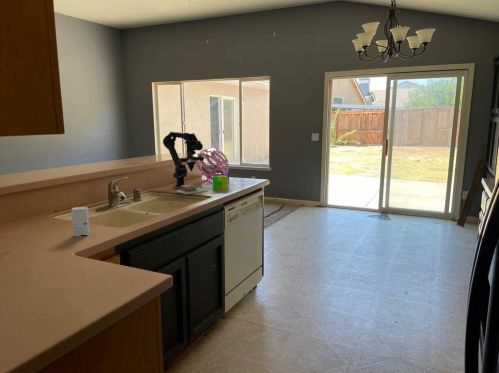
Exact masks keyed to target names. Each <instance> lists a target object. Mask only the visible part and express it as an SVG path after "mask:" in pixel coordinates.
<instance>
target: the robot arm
mask: <svg viewBox="0 0 499 373" xmlns="http://www.w3.org/2000/svg"><path fill="white" fill-rule="evenodd" d="M177 138H178V139H182V140H184V141H185V142H184V144H186V145H185V146H186V147H185V148H186V151H185V153H186V157H180V156H179V155H178V152H177V150H176V142H177V141H176V140H177ZM162 144H163V146H164V147H165V148H166V149H167V150H168V152H169V154H170V157H171V159H172V161H173V163H174V166H175V167H174V171H175V172H174V173H173V175H172V176H173V179H176V181H175V182H176V183H175V184H174V186H178V187H181V186H182V185H187V184H186V183H185V178H186V177H187V175H188V168H189V170H190V171H191V172H193V171H194V168H195V167H194V166H195V165H196V160H197V162H198V161H199V162H200V161H204V162H205V157H203V156H202V157H201V154H200V152H199V153H197V151H203V148H204V146H203V143H202V142H201V140H198V138H197V136H196V134H195V133H194V132H181V131H170V132H169V133H168V134H167V135H166V136H164V138H162ZM183 163H185V164H183ZM186 165H187V166H186ZM187 167H188V168H187Z"/></svg>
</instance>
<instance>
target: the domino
mask: <svg viewBox="0 0 499 373" xmlns="http://www.w3.org/2000/svg"><path fill="white" fill-rule="evenodd" d="M197 188H198V187H197V185H193V184H186V185H182V186H180V190H183V191H187V192H190V191H197Z"/></svg>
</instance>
